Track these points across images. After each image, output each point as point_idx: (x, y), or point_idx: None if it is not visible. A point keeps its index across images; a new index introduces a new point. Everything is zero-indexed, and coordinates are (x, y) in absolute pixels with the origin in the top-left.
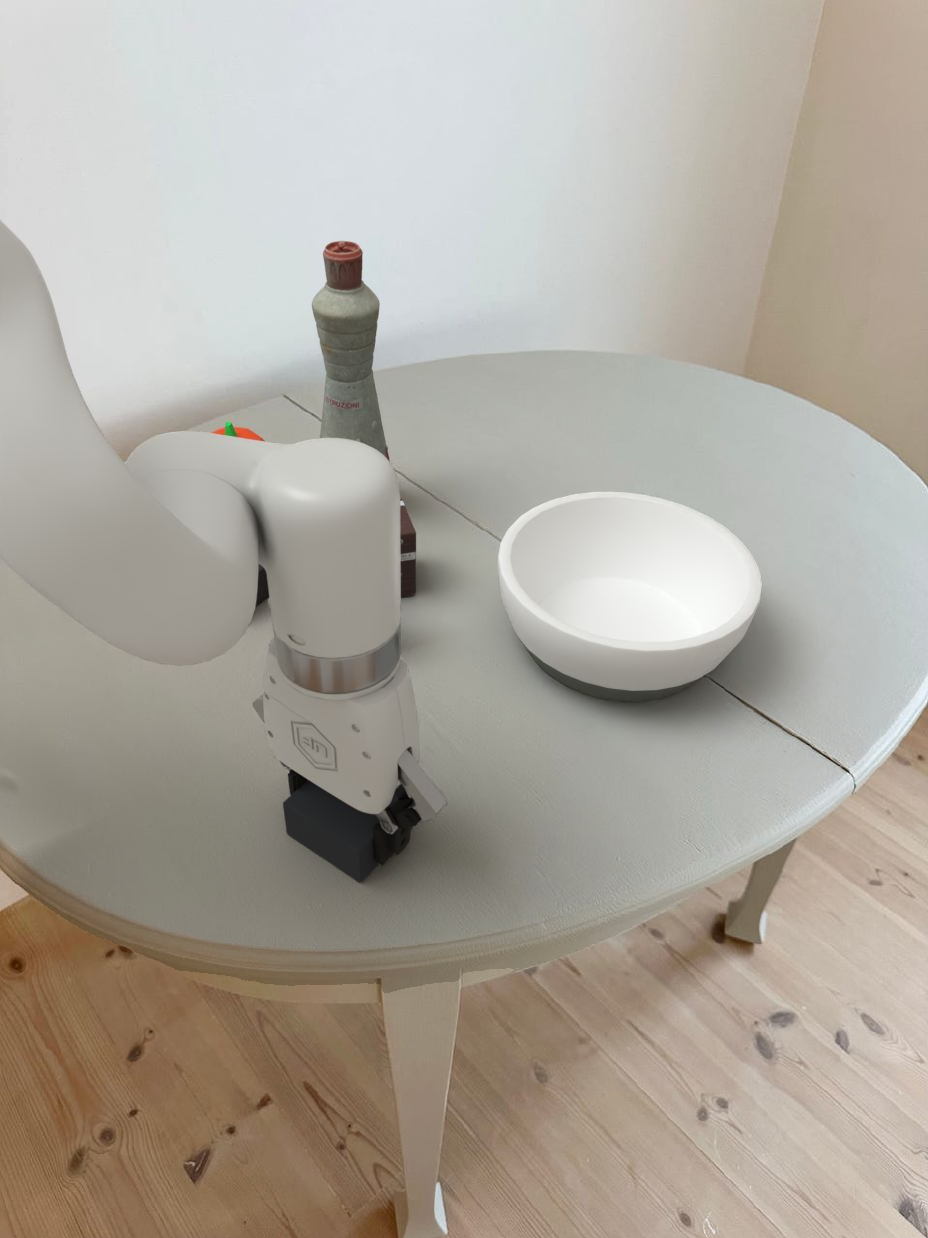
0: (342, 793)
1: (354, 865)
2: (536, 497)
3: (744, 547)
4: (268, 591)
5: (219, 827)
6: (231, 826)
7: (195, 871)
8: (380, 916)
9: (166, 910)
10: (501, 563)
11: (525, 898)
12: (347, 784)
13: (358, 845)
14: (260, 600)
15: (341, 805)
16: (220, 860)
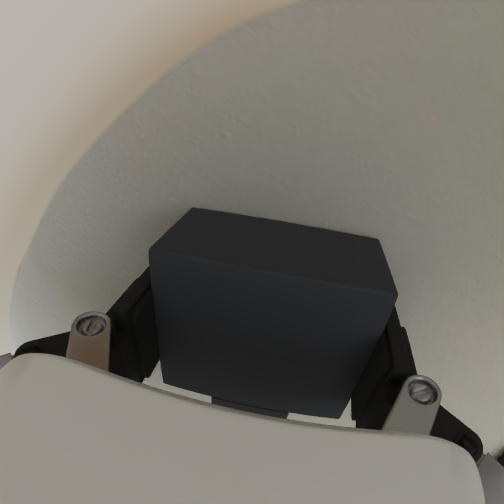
0: (94, 410)
1: (186, 226)
2: None
3: None
4: None
5: (492, 201)
6: (476, 212)
7: (483, 98)
8: (131, 171)
9: (471, 12)
10: None
11: (42, 282)
12: (37, 452)
13: (162, 265)
14: (500, 459)
15: (261, 338)
16: (460, 136)
